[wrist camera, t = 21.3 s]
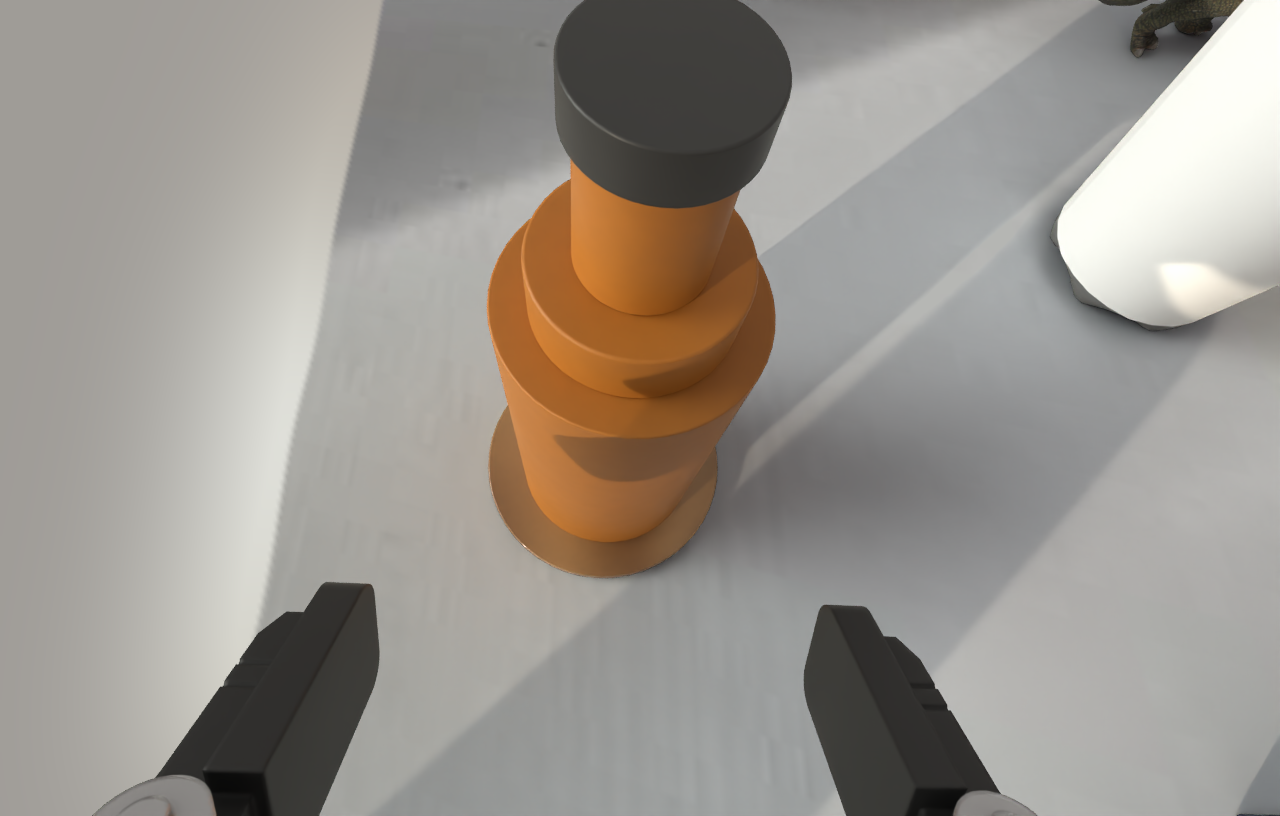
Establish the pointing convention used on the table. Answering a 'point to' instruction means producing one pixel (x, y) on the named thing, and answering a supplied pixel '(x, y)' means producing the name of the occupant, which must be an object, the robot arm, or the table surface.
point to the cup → (1188, 188)
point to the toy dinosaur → (1174, 18)
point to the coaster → (576, 551)
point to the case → (1255, 815)
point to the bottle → (640, 260)
